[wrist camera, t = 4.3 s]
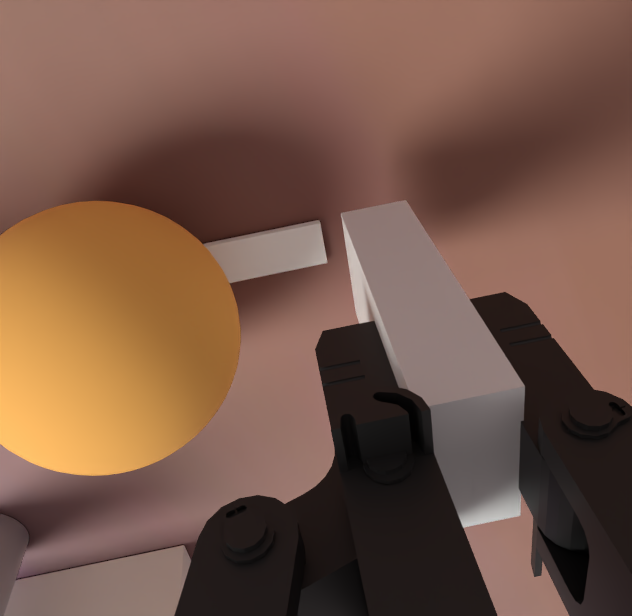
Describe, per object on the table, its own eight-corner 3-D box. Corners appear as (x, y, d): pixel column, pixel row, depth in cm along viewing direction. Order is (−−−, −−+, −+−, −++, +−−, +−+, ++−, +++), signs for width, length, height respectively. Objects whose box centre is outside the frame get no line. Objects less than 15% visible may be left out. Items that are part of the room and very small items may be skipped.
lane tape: (319, 219, 16) (320, 222, 16) (326, 259, 17) (327, 262, 16) (-55, 296, 16) (-58, 300, 16) (-33, 333, 17) (-36, 338, 16)
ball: (-148, 345, 9) (-84, 201, 14) (15, 580, 12) (20, 398, 17) (246, 234, 10) (179, 139, 15) (294, 471, 14) (227, 332, 18)
